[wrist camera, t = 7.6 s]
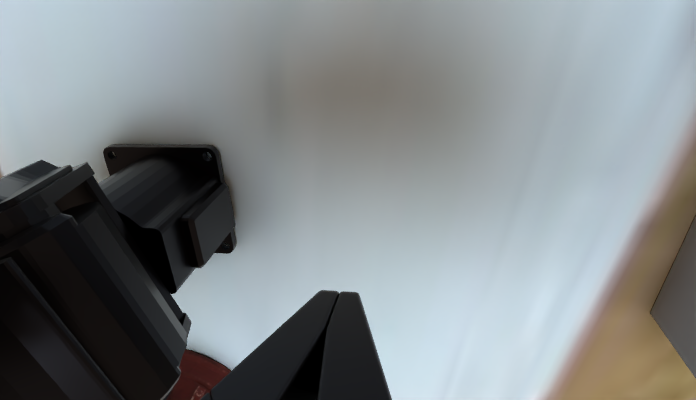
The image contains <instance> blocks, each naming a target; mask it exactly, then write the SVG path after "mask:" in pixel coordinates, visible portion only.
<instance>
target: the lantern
mask: <svg viewBox="0 0 696 400" xmlns="http://www.w3.org/2000/svg"><path fill="white" fill-rule="evenodd" d="M179 368H180V370H181V374H180V377H179V380H178V381H177V383H176V384H175V385H174V387H173V389H172V391H171V393H170V394H169V396H168V397H167V399H166V400H200V399H201V398H202V397H203V396H204V395H205V394H206V393H210V390H211V389H212V388H213V387H214V386H215V385H216V384H218V383H219V382H220V381H221V380H222V379H223V378H224V377H225V376H226V375H228V374H229V373H230V372H231V371H230V370H229V369H227V368H226V367H225V366H224V365H222V364H220V363H218V362H216V361H214V360H212V359H210V358H208V357H205V356H203V355H201V354H198V353H196V352H193V351H191V350H185V351H184V354H183V356H182V359H181V363H180V366H179Z"/></svg>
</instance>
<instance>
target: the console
mask: <svg viewBox="0 0 696 400" xmlns="http://www.w3.org/2000/svg"><path fill="white" fill-rule="evenodd" d="M650 314H651V315H652V317H653V318H654V320H655V321H656V322H657V324H658V325H659V327H660V328H661V330H662V331H663V332H664V334H665V335H666V337H667V338H668V339H669V341H670V342H671V344H672V345H673V347H674V348H675V349H676V351H677V352H678V354H679V355H680V357H681V358H682V359H683V361H684V362H685V364H686V365H687V367H688V368H689V369H690V371H691V372H692V374H693V375H694V377H695V378H696V216H695V218H694V221H693V223H692V225H691V227H690V229H689V231H688V233H687V235H686V238H685V240H684V242H683V244H682V246H681V248H680V250H679V253H678V255H677V257H676V259H675V261H674V263H673V265H672V267H671V270H670V272H669V274H668V276H667V278H666V280H665V282H664V285H663V287H662V289H661V291H660V293H659V295H658V297H657V300H656V302H655V304H654V306H653V308H652V310H651V312H650Z"/></svg>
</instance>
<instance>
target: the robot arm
mask: <svg viewBox="0 0 696 400" xmlns="http://www.w3.org/2000/svg"><path fill="white" fill-rule="evenodd" d="M112 152H114V153H115V154H116V157H115V156H114V155H113V153H112ZM206 152H208V153H209V154H211V156H212V159H211V158H208V157H207V156H206ZM103 154H104V158H105V161H106V164H107V168H108V171H109V174H110V177H108V178H107V179H105V180H104V181H102V182H100V183H99V184H98V183H97V181H96V180H95V178H94V177H93V175H94V174H95V173H94V172H93V170H92V169H91V167H90V166H89V164H88V162H86V163H84V164H81V165H78V166H76V167H73V168H72V167H71V165H68V166H65V167H56V166H54V165H52V164H50V163H47V162H45V161H43V160H40V161H38V162H35V163H33V164H30V165H28V166H26V167H24V168H22V169H19V170H17V171H15V172H13V173H11V174H8V175H6V176H4V177H2V178H0V400H166V399H167V397H168V396H169V394H170V393H171V391H172V389H173V387H174V385H175V384H176V383H177V381H178V380H179V377H180V374H181V370H180V368H179V366H180V363H181V359H182V356H183V354H184V351H185V349H186V346H187V337H188V333H189V330H190V326H191V320H190V319H189V317H188V316H187V314H186V313H182V311H181V309H180V308H179V306H178V305H177V303H176V302H175V300H174V299H173V297H172V296H171V294H173V293H176V292H177V290H178V289H179V288H180V287H181V285H182V284H183V283H184V282H185V280H186V279H187V278H188V277H189V275H190V274H191V273H192V272H193V270H194V269H195V268H202V267H203V266H204V265H205V264H206V262H207V261H208V260H209V259H210V257H211V256H212V255H213V253H226V254H227V253H231V252H232V251H233V250H234V248H235V247H236V240H235V235H234V229H233V228H234V226H235V220H234V215H233V209H232V204H231V199H230V193H229V188H228V186H227V185H226V184H225V182H224V177H223V171H222V166H221V161H220V156H219V152H218V150H217V149H216V148H215V147H213V146H211V145H119V144H114V145H110V146H108V147H106V148H105V149H104V152H103ZM224 242H225V243H227V244H229V246H226V245H225V244H224ZM200 400H392V398H391V395H390V392H389V389H388V385H387V382H386V379H385V376H384V372H383V369H382V366H381V363H380V360H379V356H378V353H377V350H376V347H375V344H374V340H373V337H372V334H371V331H370V328H369V324H368V321H367V318H366V315H365V312H364V308H363V305H362V302H361V299H360V296H359V294H358V293H357V292H341V293H340V294H339V292H337V291H327V290H321V291H319V292H318V293H317V294H316V295H315V296H314V297H313V298H311V299H310V300H309V301H308V302H307V303H306V304H305V305H304V306H303V307H301V308H300V309H299V310H298V311H297V312H296V313H295V314H294V315H293V316H292V317H290V318H289V319H288V320H287V321H286V322H285V323H284V324H283V325H282V326H281V327H279V328H278V329H277V330H276V331H275V332H274V333H273V334H272V335H271V336H269V337H268V338H267V339H266V340H265V341H264V342H263V343H262V344H261V345H260V346H258V347H257V348H256V349H255V350H254V351H253V352H252V353H251V354H250V355H248V356H247V357H246V358H245V359H244V360H243V361H242V362H241V363H240V364H239V365H237V366H236V367H235V368H234V369H233V370H232V371H231V372H230V373H229V374H228V375H226V376H225V377H224V378H223V379H222V380H221V381H220V382H219V383H218V384H216V385H215V386H214V387H213V388H212V389H211V390H210V393H206V394H205V395H204V396H203V397H202V398H201V399H200Z"/></svg>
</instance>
